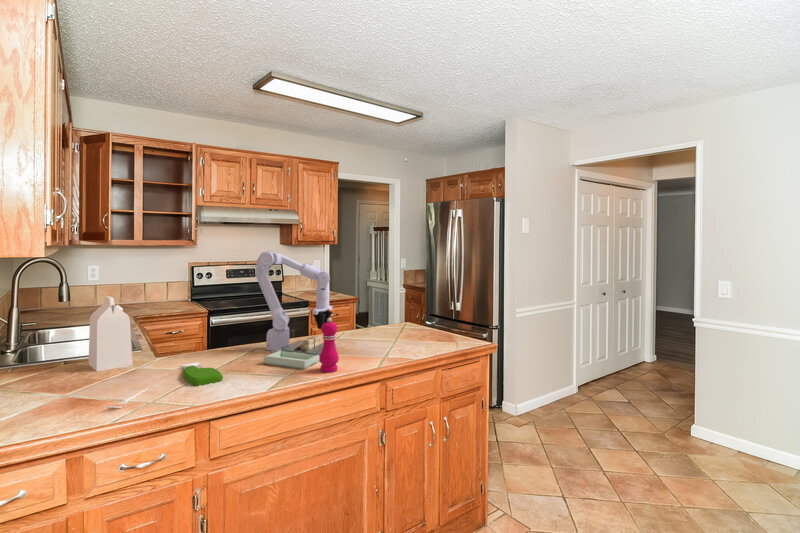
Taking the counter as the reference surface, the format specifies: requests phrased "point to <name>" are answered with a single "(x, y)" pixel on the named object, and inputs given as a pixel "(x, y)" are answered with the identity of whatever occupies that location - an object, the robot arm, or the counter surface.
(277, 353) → the tray
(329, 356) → the pepper mill
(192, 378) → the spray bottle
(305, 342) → the birch block front
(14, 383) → the counter surface
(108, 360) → the milk
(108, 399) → the counter surface
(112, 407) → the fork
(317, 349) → the slotted plate
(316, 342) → the birch block rear
